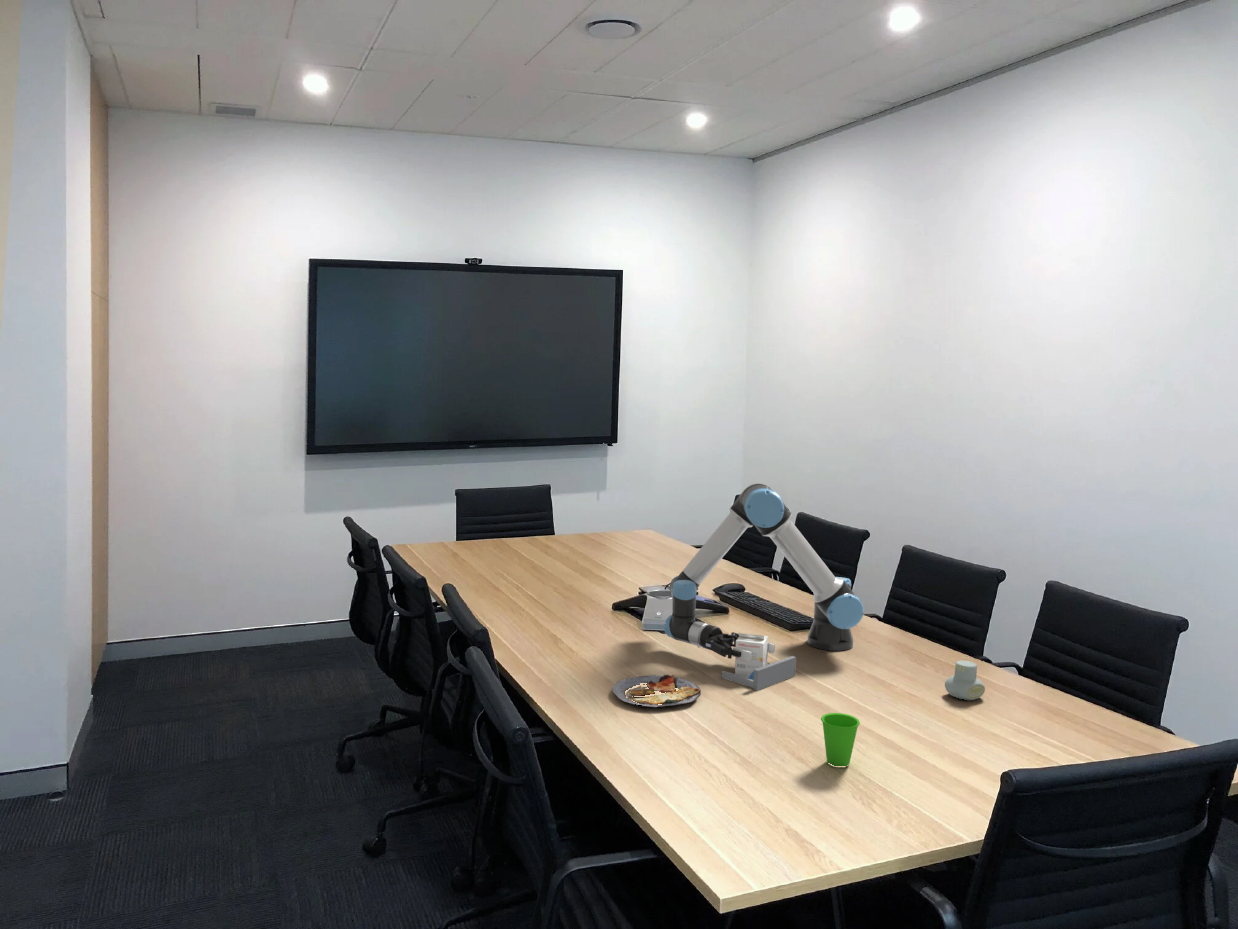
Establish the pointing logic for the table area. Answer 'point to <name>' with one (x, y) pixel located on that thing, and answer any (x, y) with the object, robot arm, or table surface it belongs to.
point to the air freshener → (965, 682)
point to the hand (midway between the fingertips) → (762, 652)
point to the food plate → (658, 683)
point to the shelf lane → (766, 674)
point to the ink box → (759, 654)
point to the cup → (839, 737)
